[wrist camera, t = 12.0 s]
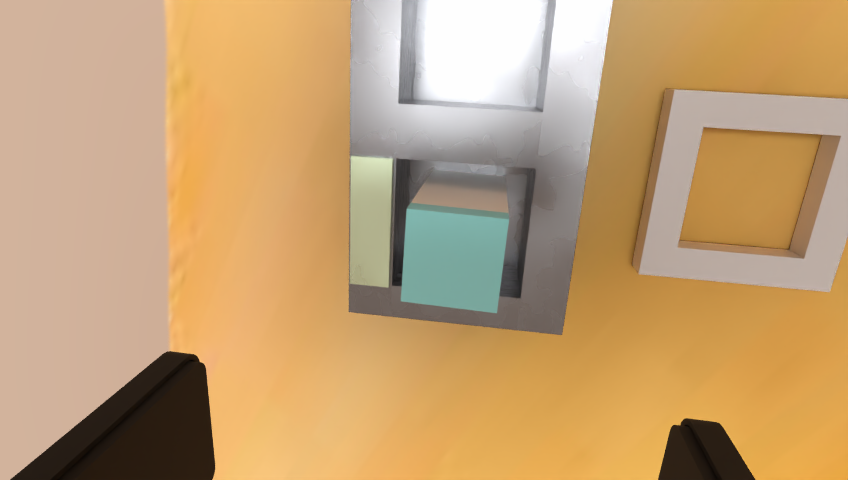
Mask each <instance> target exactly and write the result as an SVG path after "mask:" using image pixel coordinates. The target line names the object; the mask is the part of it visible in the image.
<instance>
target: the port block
mask: <svg viewBox="0 0 848 480" xmlns="http://www.w3.org/2000/svg"><path fill="white" fill-rule="evenodd" d="M612 3H613V0H351V64H350V211H349V312H354V313H363V314H372V315H382V316H391V317H400V318H409V319H419V320H428V321H437V322H446V323H455V324H465V325H474V326H483V327H492V328H502V329H511V330H520V331H529V332H539V333H548V334H557V335H562V332H563V326H564V319H565V312H566V306H567V299H568V293H569V286H570V279H571V273H572V266H573V260H574V253H575V247H576V240H577V233H578V227H579V220H580V214H581V207H582V200H583V194H584V187H585V181H586V174H587V167H588V161H589V154H590V148H591V141H592V135H593V128H594V121H595V115H596V108H597V102H598V95H599V88H600V82H601V75H602V69H603V62H604V55H605V49H606V42H607V36H608V29H609V23H610V16H611V9H612ZM433 169H435V170H445V171H455V172H466V173H476V174H486V175H496V176H505V180H506V191H507V202H508V212H509V225H508V232H507V240H506V248H505V255H504V263H503V270H502V278H501V286H500V293H499V301H498V309H497V313H490V312H482V311H474V310H466V309H458V308H450V307H442V306H434V305H426V304H418V303H410V302H402V301H401V289H402V274H403V258H404V243H405V227H406V212H407V207H408V206H409V205H410V203H411V202H412V200H413V199H414V197H415V196H416V194H417V193H418V191H419V190H420V188H421V187H422V185H423V184H424V182H425V181H426V179H427V178H428V176H429V175H430V173H431V172H432V170H433Z"/></svg>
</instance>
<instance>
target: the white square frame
mask: <svg viewBox="0 0 848 480" xmlns="http://www.w3.org/2000/svg"><path fill="white" fill-rule="evenodd" d="M703 127H709V128H725V129H741V130H757V131H773V132H789V133H805V134H821V135H822V138H821V141H820V145H819V148H818V152H817V155H816V158H815V162H814V165H813V169H812V172H811V176H810V179H809V183H808V186H807V190H806V193H805V197H804V200H803V203H802V207H801V210H800V214H799V217H798V221H797V224H796V228H795V231H794V235H793V238H792V241H791V245H790V248H789V250H786V249H774V248H763V247H751V246H739V245H728V244H716V243H705V242H693V241H681V240H679V238H680V233H681V229H682V224H683V219H684V215H685V210H686V206H687V201H688V196H689V192H690V187H691V183H692V178H693V173H694V169H695V164H696V160H697V155H698V150H699V146H700V141H701V137H702V132H703ZM847 237H848V99H842V98H824V97H806V96H788V95H769V94H751V93H733V92H715V91H697V90H679V89H665V93H664V99H663V104H662V109H661V114H660V120H659V125H658V130H657V135H656V141H655V146H654V151H653V156H652V162H651V167H650V172H649V178H648V183H647V188H646V193H645V199H644V204H643V209H642V214H641V220H640V225H639V230H638V235H637V241H636V246H635V251H634V256H633V262H632V266H633V267H634V268H635V270H636V271H637V273H638V274H643V275H653V276H664V277H675V278H685V279H696V280H707V281H717V282H728V283H739V284H749V285H760V286H770V287H781V288H792V289H802V290H813V291H824V292H830V290H831V287H832V284H833V280H834V277H835V274H836V271H837V268H838V265H839V262H840V259H841V256H842V253H843V250H844V246H845V243H846V240H847Z"/></svg>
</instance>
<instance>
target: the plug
mask: <svg viewBox="0 0 848 480" xmlns="http://www.w3.org/2000/svg"><path fill="white" fill-rule="evenodd" d="M508 225H509V212H508V202H507V191H506V180H505V176H496V175H486V174H476V173H466V172H455V171H445V170H435V169H433V170H432V172H431V173H430V175H429V176H428V178H427V179H426V181H425V182H424V184H423V185H422V187H421V188H420V190H419V191H418V193H417V194H416V196H415V197H414V199H413V200H412V202H411V203H410V205H409V206H408V207H407V212H406V227H405V243H404V258H403V274H402V289H401V301H402V302H410V303H418V304H426V305H434V306H442V307H450V308H458V309H466V310H474V311H482V312H490V313H497V309H498V301H499V293H500V286H501V278H502V270H503V263H504V255H505V248H506V240H507V232H508Z"/></svg>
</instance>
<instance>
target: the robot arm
mask: <svg viewBox="0 0 848 480" xmlns="http://www.w3.org/2000/svg"><path fill="white" fill-rule="evenodd" d="M214 472H215V459H214V448H213V438H212V427H211V417H210V406H209V396H208V386H207V375H206V368H205V365H204V364H203V363H201V362H199V359H198V357H197V356H196V355H194V354H187V353H179V352H171V351H170V352H166V353H164V354H162V355H161V356H160V357H159V358H158V359H157V360H155V361H154V362H153V363H151V364H150V365H149V366H148V367H147V368H145V369H144V370H143V371H142V372H141V373H139V374H138V375H137V376H136V377H134V378H133V379H132V380H131V381H130V382H128V383H127V384H126V385H125V386H124V387H122V388H121V389H120V390H119V391H117V392H116V393H115V394H114V395H113V396H111V397H110V398H109V399H108V400H106V401H105V402H104V403H103V404H102V405H100V406H99V407H98V408H97V409H96V410H94V411H93V412H92V413H91V414H90V415H89V416H87V417H86V418H85V419H84V420H82V421H81V422H80V423H79V424H77V425H76V426H75V427H74V428H72V429H71V430H70V431H69V432H68V433H66V434H65V435H64V436H63V437H62V438H60V439H59V440H58V441H57V442H55V443H54V444H53V445H52V446H51V447H49V448H48V449H47V450H46V451H45V452H43V453H42V454H41V455H40V456H39V457H37V458H36V459H35V460H34V461H32V462H31V463H30V464H29V465H28V466H26V467H25V468H24V469H23V470H21V471H20V472H19V473H18V474H17V475H15V476H14V477H13V478H12V479H11V480H212V479H213V476H214ZM658 480H755V478H754V477H753V475H752V473H751V472H750V470H749V469H748V467H747V465H746V464H745V462H744V461H743V459H742V457H741V456H740V454H739V452H738V451H737V449H736V448H735V446H734V444H733V443H732V441H731V440H730V438H729V436H728V435H727V433H726V432H725V430H724V428H723V427H722V426H721V425H720V424H719V423H717V422H710V421H703V420H695V419H687V418H686V419H684V420H683V421H682V422H681V425H680V426H679V425H673V426H672V427H671V430H670V433H669V437H668V441H667V445H666V450H665V454H664V458H663V462H662V466H661V470H660V474H659V478H658Z"/></svg>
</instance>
